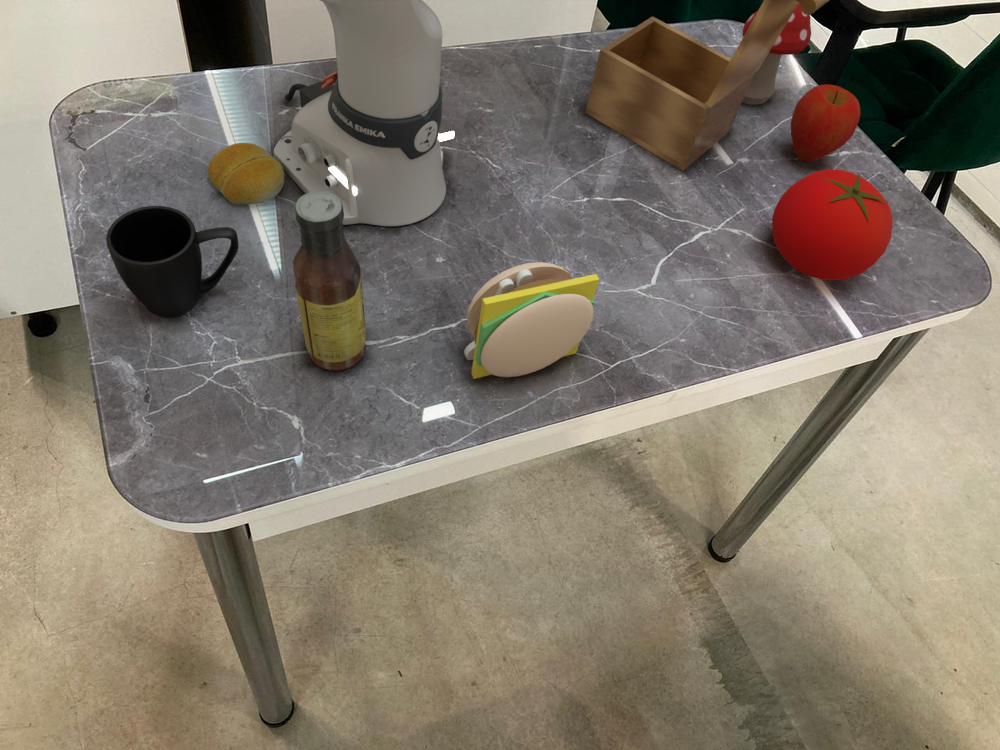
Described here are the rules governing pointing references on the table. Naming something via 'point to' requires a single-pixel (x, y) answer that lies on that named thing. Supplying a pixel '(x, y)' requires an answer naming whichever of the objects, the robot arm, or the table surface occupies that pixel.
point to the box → (663, 92)
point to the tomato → (832, 225)
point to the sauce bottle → (328, 284)
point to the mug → (164, 258)
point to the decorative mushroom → (777, 55)
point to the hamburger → (528, 319)
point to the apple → (823, 121)
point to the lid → (759, 42)
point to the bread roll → (246, 174)
